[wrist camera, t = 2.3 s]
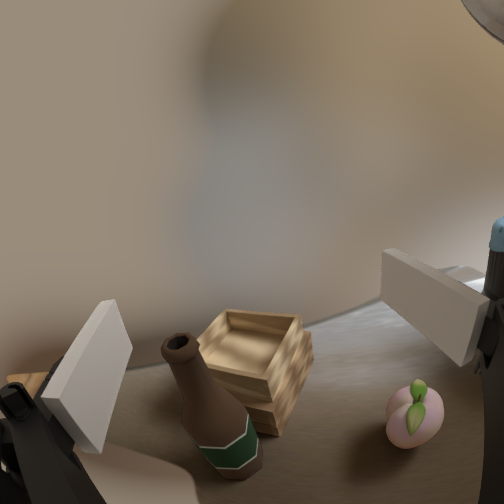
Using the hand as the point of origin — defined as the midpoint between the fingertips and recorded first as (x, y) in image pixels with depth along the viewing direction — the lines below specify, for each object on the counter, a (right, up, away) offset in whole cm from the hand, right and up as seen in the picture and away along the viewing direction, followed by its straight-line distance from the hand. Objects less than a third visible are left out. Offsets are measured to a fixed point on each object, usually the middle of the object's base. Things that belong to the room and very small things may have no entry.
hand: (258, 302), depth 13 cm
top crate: (-1, -15, +31) cm, 35 cm away
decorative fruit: (+22, -24, +16) cm, 36 cm away
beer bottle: (-2, -28, +20) cm, 34 cm away
